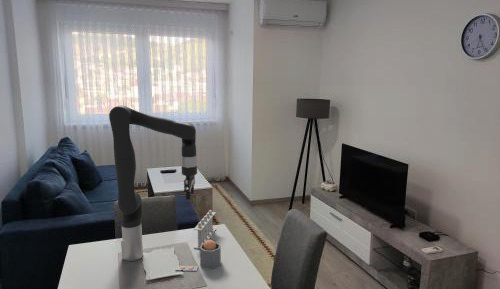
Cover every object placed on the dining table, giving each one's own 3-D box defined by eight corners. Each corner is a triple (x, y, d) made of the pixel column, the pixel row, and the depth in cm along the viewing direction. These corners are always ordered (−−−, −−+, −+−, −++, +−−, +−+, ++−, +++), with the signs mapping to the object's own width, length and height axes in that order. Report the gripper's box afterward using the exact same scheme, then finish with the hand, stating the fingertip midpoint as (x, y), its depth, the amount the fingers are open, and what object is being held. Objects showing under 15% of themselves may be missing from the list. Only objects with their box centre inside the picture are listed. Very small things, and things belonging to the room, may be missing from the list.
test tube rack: (202, 249, 181) (201, 226, 179) (193, 248, 182) (193, 225, 180) (216, 229, 205) (215, 208, 203) (209, 229, 206) (208, 208, 204)
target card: (175, 270, 161) (175, 269, 161) (177, 266, 165) (177, 265, 165) (196, 271, 161) (196, 270, 161) (198, 266, 165) (198, 265, 164)
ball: (203, 250, 162) (201, 239, 167) (206, 256, 166) (204, 246, 171) (215, 246, 163) (213, 235, 167) (218, 252, 167) (216, 242, 171)
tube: (199, 268, 163) (199, 250, 161) (202, 258, 172) (202, 241, 170) (219, 269, 163) (218, 251, 161) (221, 259, 172) (221, 242, 170)
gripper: (184, 161, 177) (185, 191, 180) (178, 168, 163) (179, 201, 166) (199, 161, 177) (200, 192, 180) (194, 168, 163) (194, 201, 166)
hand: (190, 196), depth 173 cm, fingers open, 8 cm apart
